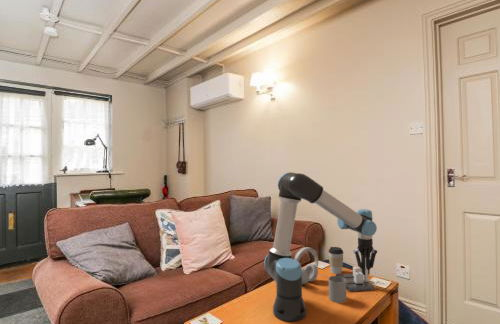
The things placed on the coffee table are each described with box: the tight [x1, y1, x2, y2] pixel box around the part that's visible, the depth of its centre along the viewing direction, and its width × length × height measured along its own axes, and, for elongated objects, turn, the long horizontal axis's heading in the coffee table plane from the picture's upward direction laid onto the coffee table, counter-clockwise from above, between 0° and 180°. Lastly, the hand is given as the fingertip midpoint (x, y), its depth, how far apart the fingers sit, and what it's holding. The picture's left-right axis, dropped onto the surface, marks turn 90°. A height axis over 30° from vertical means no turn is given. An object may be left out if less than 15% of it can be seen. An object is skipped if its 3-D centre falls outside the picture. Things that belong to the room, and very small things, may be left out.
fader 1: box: [352, 265, 362, 276], centre depth 168 cm, size 4×3×5 cm
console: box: [335, 273, 375, 292], centre depth 164 cm, size 14×18×3 cm
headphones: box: [293, 246, 319, 285], centre depth 166 cm, size 19×8×20 cm, turn 126°
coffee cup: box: [328, 246, 344, 275], centre depth 181 cm, size 9×9×15 cm
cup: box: [328, 275, 347, 304], centre depth 146 cm, size 8×8×10 cm
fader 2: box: [354, 272, 363, 284], centre depth 160 cm, size 4×3×5 cm
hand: (365, 280), depth 160 cm, fingers closed
